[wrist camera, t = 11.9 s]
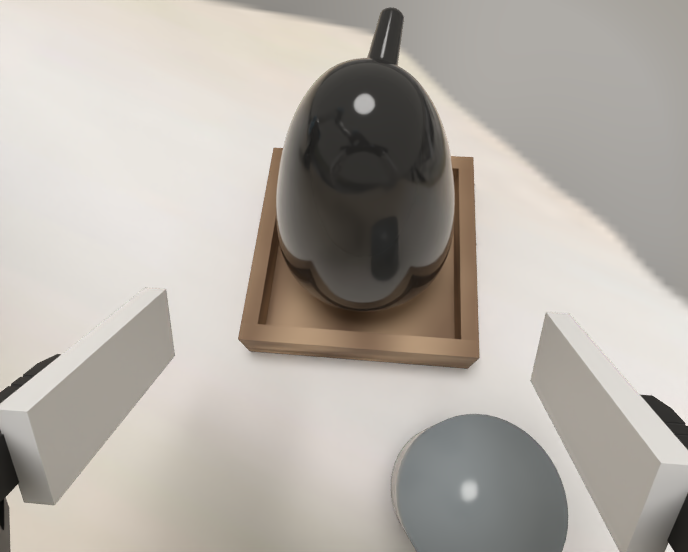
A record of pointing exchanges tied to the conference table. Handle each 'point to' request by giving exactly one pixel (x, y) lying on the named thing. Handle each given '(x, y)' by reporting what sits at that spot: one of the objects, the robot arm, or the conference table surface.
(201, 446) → the conference table surface
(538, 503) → the grey round-ended cylinder
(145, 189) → the conference table surface
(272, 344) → the tray
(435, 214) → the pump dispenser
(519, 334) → the conference table surface
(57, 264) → the conference table surface
